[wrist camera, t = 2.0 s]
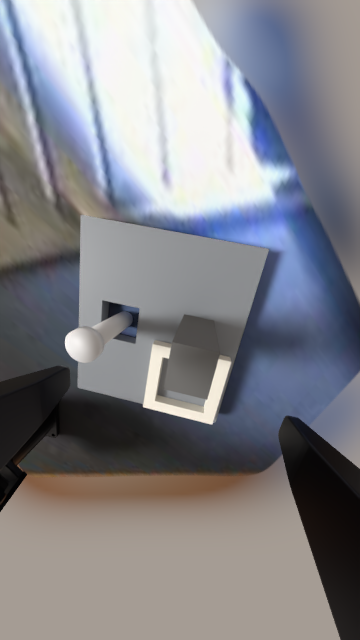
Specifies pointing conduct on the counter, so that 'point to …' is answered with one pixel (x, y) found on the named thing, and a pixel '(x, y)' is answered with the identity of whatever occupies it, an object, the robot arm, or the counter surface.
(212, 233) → the counter surface
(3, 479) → the robot arm
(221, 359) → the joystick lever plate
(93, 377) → the hook board
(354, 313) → the counter surface
